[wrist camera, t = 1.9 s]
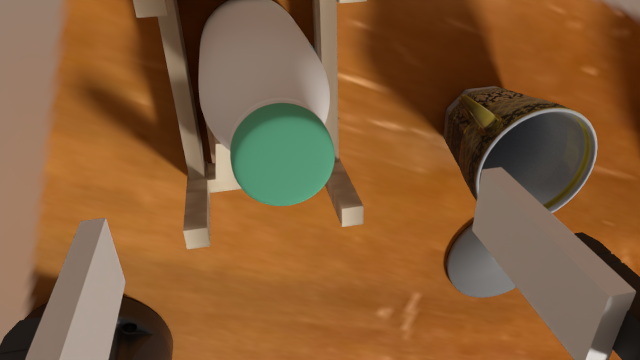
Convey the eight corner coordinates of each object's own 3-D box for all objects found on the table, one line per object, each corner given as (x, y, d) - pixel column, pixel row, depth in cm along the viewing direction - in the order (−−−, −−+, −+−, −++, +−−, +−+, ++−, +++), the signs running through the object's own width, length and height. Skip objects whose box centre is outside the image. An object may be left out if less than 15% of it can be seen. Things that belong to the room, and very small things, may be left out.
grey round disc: (441, 301, 57) (443, 304, 56) (452, 217, 51) (454, 220, 50) (534, 285, 58) (537, 288, 58) (556, 201, 52) (559, 204, 52)
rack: (191, 179, 42) (187, 249, 34) (149, -36, 34) (129, -14, 25) (333, 161, 44) (362, 223, 36) (329, -46, 36) (367, -29, 27)
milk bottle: (183, 65, 38) (162, 202, 21) (228, -28, 35) (246, 41, 18) (270, 108, 41) (314, 257, 24) (317, 26, 38) (405, 128, 21)
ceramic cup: (544, 110, 46) (619, 158, 38) (467, 183, 49) (521, 243, 40) (465, 20, 40) (533, 52, 32) (381, 109, 43) (424, 161, 34)
